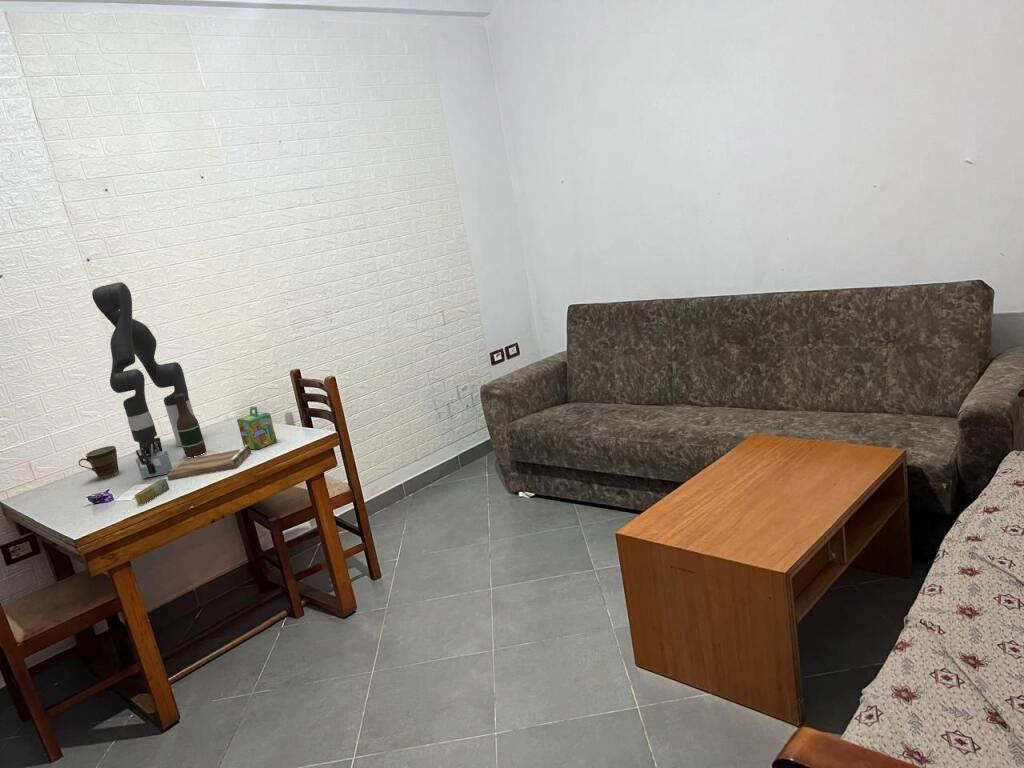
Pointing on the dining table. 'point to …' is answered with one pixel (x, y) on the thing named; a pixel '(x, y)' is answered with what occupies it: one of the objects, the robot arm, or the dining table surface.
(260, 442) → the colorful gift box
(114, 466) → the ceramic cup
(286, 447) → the dining table surface
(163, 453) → the tea carton
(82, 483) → the dining table surface
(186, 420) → the beer bottle
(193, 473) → the wooden tray
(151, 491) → the medication box
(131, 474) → the dining table surface
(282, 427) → the dining table surface
